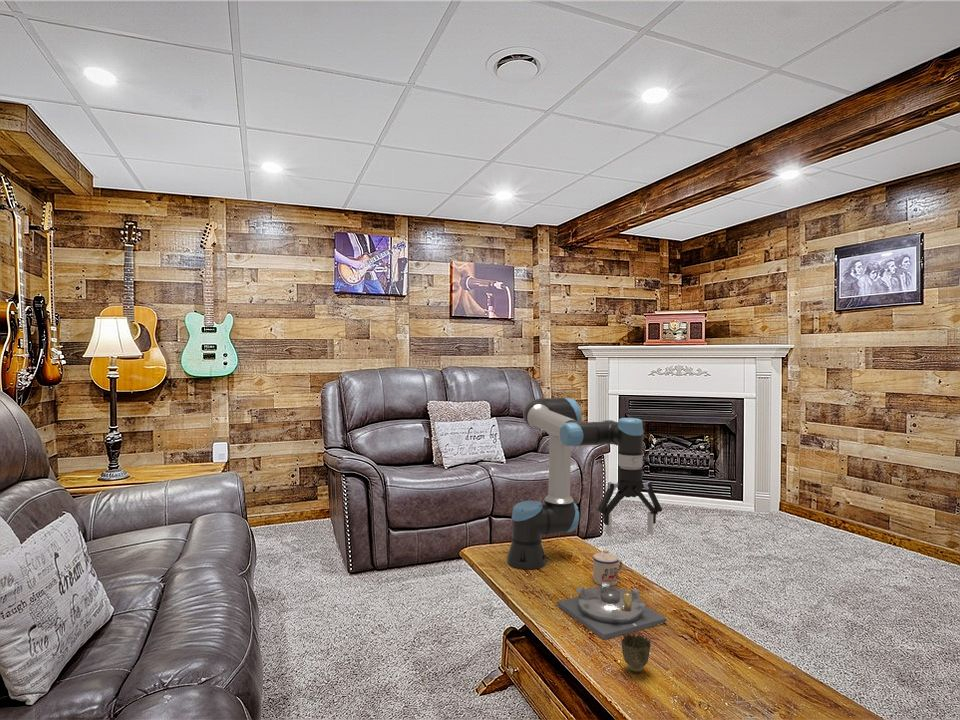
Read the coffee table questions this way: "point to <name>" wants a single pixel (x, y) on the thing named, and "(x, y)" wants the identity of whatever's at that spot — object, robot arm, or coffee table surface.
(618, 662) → the coffee table surface
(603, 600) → the grey metal round disc
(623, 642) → the cup
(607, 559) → the teacup with lid
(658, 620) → the plate
